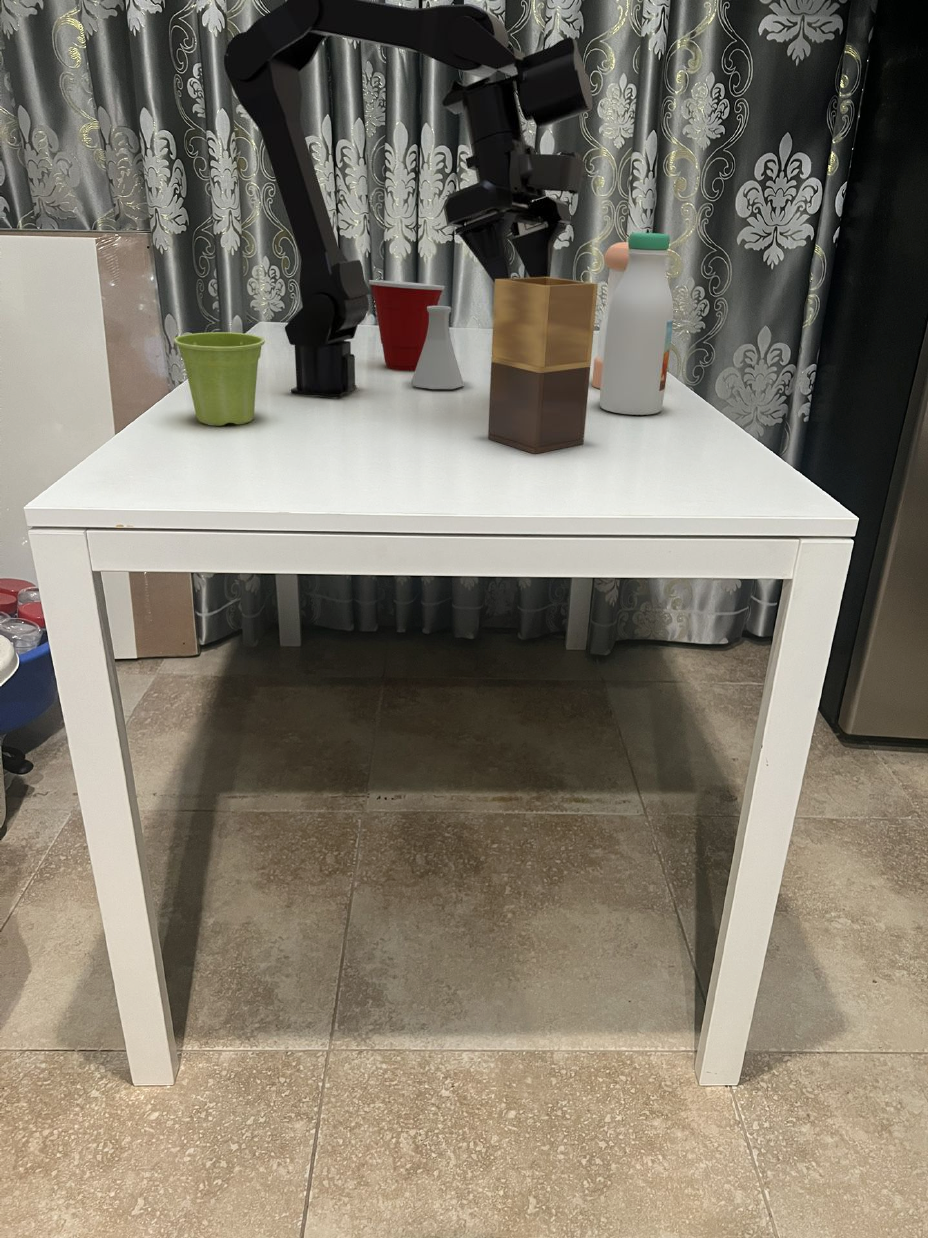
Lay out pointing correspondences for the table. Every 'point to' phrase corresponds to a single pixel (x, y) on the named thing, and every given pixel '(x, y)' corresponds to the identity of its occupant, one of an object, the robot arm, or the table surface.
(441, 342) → the flask
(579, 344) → the light brown open box
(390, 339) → the plastic cup
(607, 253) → the pepper shaker
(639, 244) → the milk bottle
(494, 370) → the box
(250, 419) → the plant pot
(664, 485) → the table surface
